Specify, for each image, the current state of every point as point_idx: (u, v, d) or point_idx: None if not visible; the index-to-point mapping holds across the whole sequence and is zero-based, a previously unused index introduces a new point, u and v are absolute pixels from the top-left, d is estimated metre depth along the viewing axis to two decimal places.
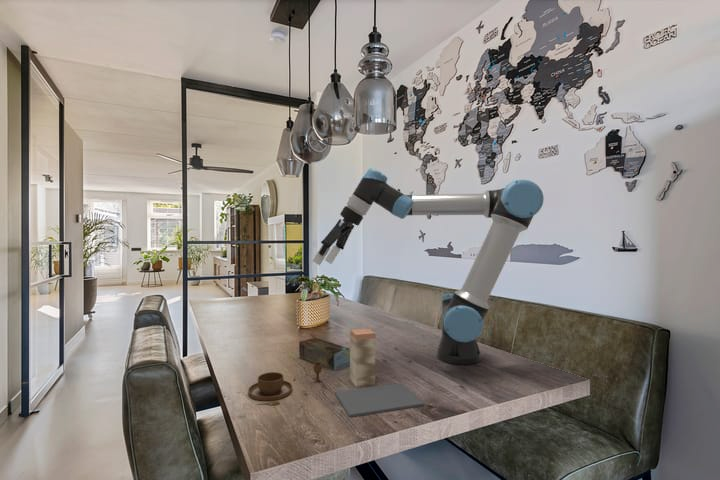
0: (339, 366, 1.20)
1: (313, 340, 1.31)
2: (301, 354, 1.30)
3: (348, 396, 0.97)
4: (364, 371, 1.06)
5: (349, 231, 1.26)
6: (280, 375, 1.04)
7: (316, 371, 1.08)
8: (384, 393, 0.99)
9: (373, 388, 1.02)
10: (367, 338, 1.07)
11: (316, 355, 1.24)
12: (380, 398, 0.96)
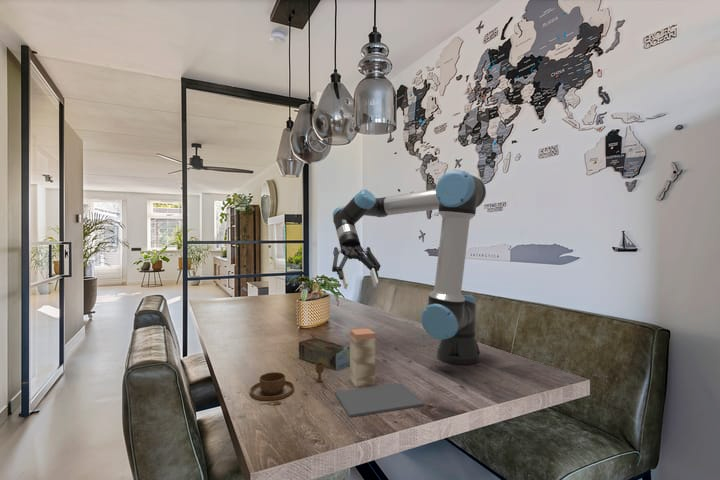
0: (340, 366, 1.20)
1: (313, 340, 1.31)
2: (301, 355, 1.29)
3: (348, 396, 0.97)
4: (364, 371, 1.06)
5: (356, 249, 1.32)
6: (282, 375, 1.04)
7: (318, 371, 1.08)
8: (384, 393, 0.99)
9: (373, 388, 1.02)
10: (367, 338, 1.07)
11: (316, 355, 1.24)
12: (380, 398, 0.96)
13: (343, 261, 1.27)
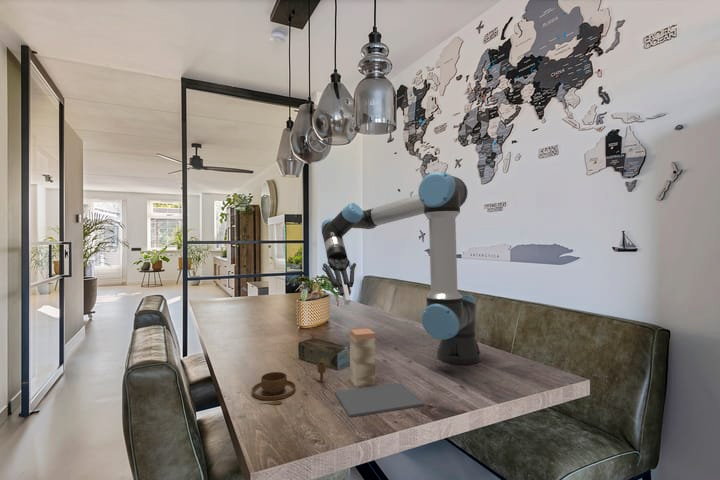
0: (342, 365, 1.20)
1: (312, 340, 1.31)
2: (301, 355, 1.29)
3: (348, 396, 0.97)
4: (364, 371, 1.06)
5: (342, 261, 1.34)
6: (283, 375, 1.04)
7: (320, 371, 1.08)
8: (384, 393, 0.99)
9: (373, 388, 1.02)
10: (367, 338, 1.07)
11: (317, 355, 1.24)
12: (380, 398, 0.96)
13: (339, 276, 1.30)
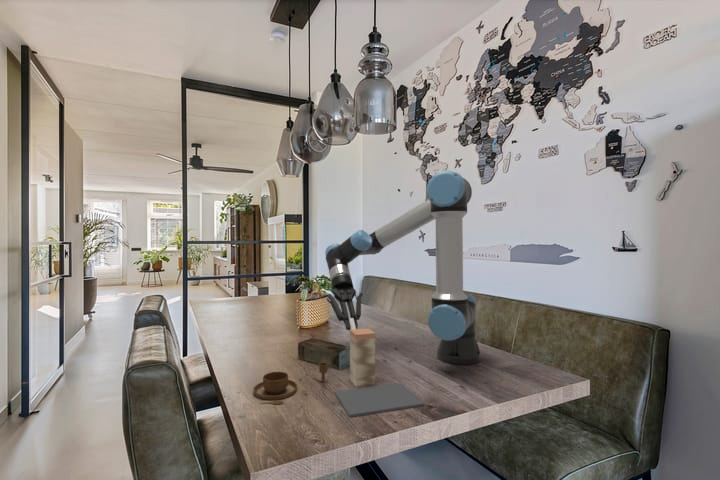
0: (343, 365, 1.21)
1: (312, 340, 1.31)
2: (300, 355, 1.29)
3: (348, 396, 0.97)
4: (364, 371, 1.06)
5: (348, 292, 1.27)
6: (285, 375, 1.04)
7: (321, 371, 1.08)
8: (384, 393, 0.99)
9: (373, 388, 1.02)
10: (367, 338, 1.07)
11: (318, 355, 1.24)
12: (380, 398, 0.96)
13: (345, 308, 1.22)
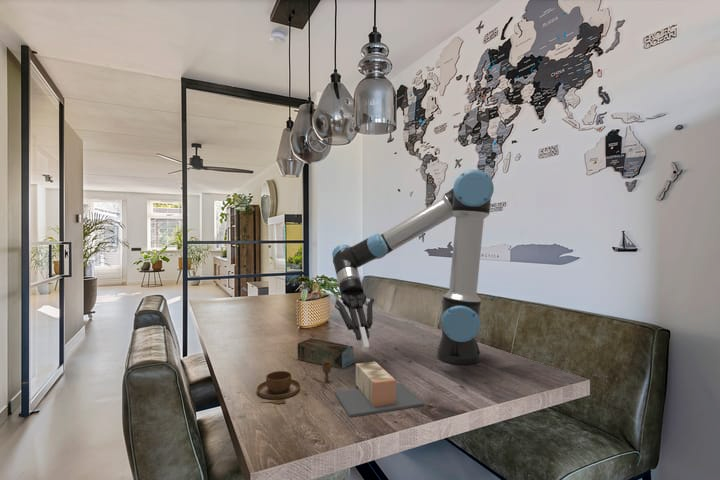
0: (345, 364, 1.22)
1: (311, 341, 1.30)
2: (300, 356, 1.28)
3: (348, 396, 0.97)
4: None
5: (358, 298, 1.15)
6: (288, 374, 1.05)
7: (325, 371, 1.08)
8: None
9: None
10: None
11: (319, 355, 1.24)
12: None
13: (355, 316, 1.11)
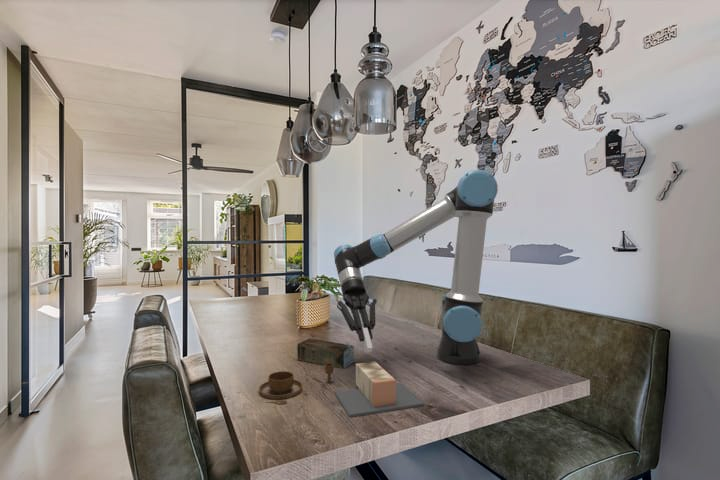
0: (347, 363, 1.22)
1: (311, 341, 1.30)
2: (300, 356, 1.27)
3: (348, 396, 0.97)
4: None
5: (360, 298, 1.14)
6: (291, 374, 1.05)
7: (327, 372, 1.08)
8: None
9: None
10: None
11: (320, 355, 1.24)
12: None
13: (358, 317, 1.09)
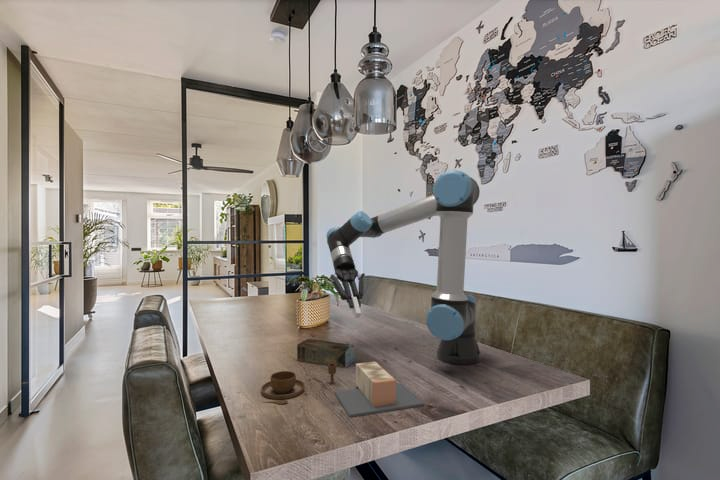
0: (348, 363, 1.23)
1: (310, 341, 1.30)
2: (300, 357, 1.27)
3: (348, 396, 0.97)
4: None
5: (350, 272, 1.28)
6: (293, 374, 1.04)
7: (330, 372, 1.07)
8: None
9: None
10: None
11: (321, 355, 1.24)
12: None
13: (348, 288, 1.24)
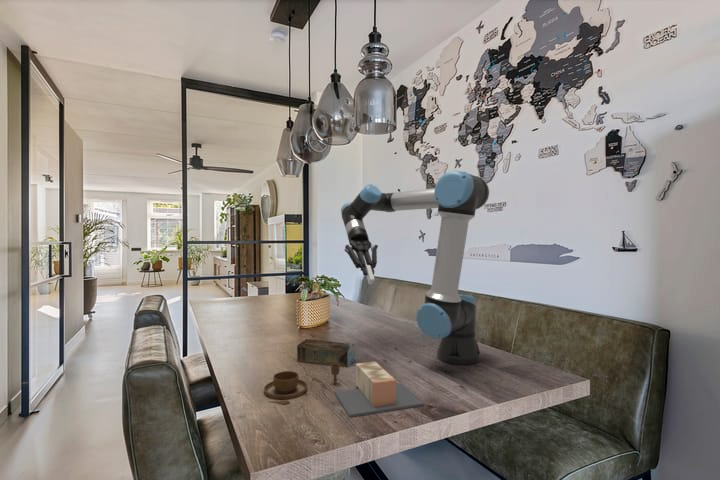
0: (349, 362, 1.24)
1: (310, 341, 1.30)
2: (300, 357, 1.26)
3: (348, 396, 0.97)
4: None
5: (364, 243, 1.35)
6: (296, 374, 1.04)
7: (333, 373, 1.07)
8: None
9: None
10: None
11: (322, 355, 1.24)
12: None
13: (362, 257, 1.31)
